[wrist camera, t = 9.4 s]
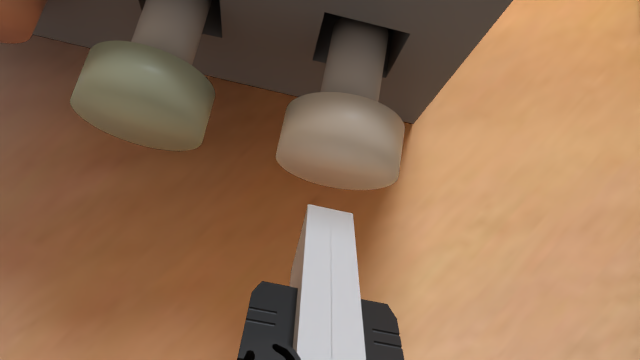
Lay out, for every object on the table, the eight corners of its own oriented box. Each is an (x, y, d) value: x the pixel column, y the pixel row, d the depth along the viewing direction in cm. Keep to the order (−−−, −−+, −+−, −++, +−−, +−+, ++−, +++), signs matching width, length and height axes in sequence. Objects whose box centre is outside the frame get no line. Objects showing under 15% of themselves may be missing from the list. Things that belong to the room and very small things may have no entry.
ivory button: (397, 74, 21) (434, 11, 17) (379, 197, 19) (416, 160, 15) (299, 50, 21) (314, -20, 17) (272, 174, 19) (280, 129, 15)
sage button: (240, 36, 21) (240, -39, 17) (206, 159, 19) (196, 110, 15) (137, 11, 20) (110, -72, 16) (92, 134, 18) (49, 76, 14)
